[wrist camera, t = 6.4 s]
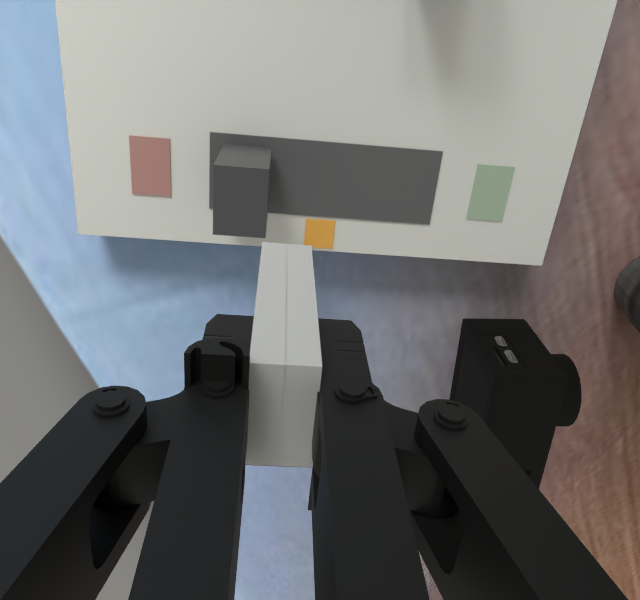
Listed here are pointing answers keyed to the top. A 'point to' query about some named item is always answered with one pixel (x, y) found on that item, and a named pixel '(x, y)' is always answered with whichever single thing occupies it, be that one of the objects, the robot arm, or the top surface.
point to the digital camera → (516, 387)
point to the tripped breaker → (241, 190)
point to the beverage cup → (629, 292)
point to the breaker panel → (333, 118)
